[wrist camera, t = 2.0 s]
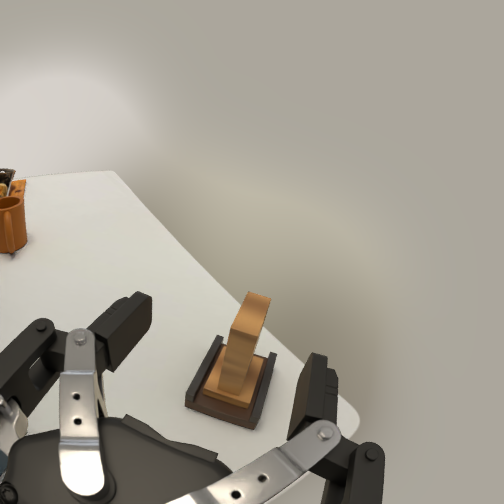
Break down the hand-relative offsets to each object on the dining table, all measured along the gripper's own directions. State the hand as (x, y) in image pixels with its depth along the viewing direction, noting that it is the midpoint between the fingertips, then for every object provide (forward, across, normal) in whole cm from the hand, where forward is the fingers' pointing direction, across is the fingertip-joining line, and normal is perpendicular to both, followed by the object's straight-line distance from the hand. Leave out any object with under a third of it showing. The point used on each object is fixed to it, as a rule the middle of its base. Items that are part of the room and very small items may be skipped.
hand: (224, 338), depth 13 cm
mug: (+17, +51, +19) cm, 57 cm away
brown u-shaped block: (+11, 0, +18) cm, 21 cm away
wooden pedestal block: (+11, 0, +17) cm, 20 cm away
